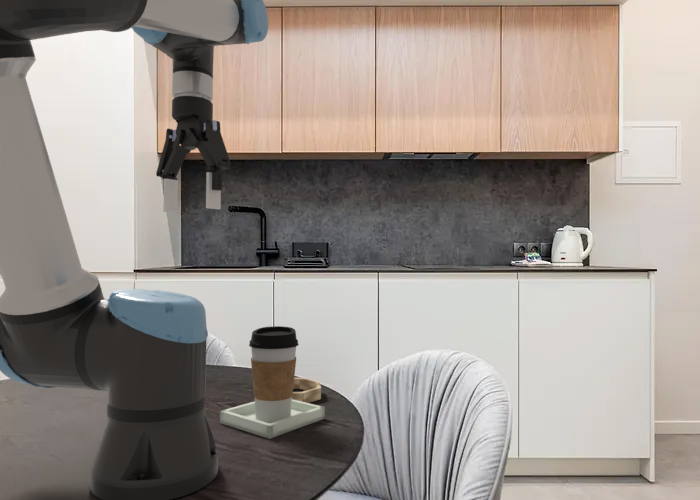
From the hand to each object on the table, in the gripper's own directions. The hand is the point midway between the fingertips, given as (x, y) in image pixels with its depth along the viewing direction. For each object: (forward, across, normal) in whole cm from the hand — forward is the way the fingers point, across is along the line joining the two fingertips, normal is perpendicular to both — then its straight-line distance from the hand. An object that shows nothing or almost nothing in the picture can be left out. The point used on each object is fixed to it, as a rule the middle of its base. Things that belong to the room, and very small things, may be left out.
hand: (191, 210), depth 98 cm
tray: (+37, -20, -3) cm, 42 cm away
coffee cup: (+36, -20, -3) cm, 42 cm away
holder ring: (+37, -11, -16) cm, 42 cm away
